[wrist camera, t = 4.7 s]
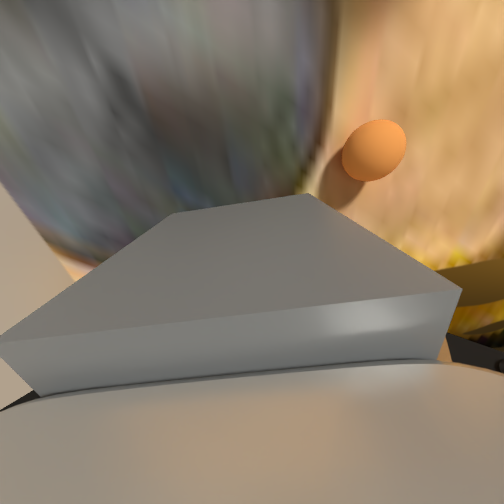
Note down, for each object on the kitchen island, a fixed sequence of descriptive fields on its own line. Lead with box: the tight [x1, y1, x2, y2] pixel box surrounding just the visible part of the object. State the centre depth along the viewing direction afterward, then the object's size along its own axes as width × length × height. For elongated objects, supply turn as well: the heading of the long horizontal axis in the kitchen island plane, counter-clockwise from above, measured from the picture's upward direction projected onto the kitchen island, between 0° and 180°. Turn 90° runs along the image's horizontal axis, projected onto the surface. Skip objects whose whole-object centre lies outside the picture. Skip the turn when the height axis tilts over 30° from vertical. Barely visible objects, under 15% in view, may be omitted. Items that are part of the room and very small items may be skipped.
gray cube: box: [0, 193, 462, 398], centre depth 9 cm, size 8×8×9 cm
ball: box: [342, 120, 406, 181], centre depth 18 cm, size 5×5×5 cm
